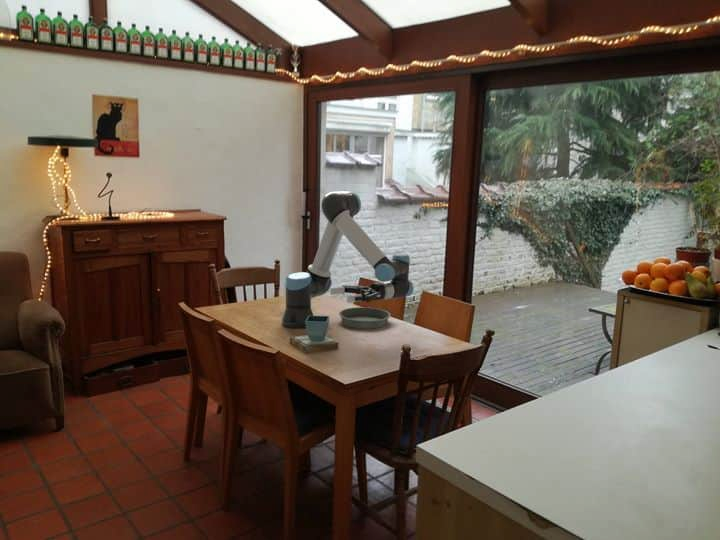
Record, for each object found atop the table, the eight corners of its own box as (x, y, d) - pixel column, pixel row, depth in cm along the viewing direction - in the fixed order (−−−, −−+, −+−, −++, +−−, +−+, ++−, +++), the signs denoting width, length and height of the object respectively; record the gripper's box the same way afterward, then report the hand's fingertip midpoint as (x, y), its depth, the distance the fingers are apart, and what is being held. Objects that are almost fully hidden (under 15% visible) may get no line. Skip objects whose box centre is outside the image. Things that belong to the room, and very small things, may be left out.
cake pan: (345, 331, 266) (345, 321, 266) (333, 317, 290) (333, 308, 289) (397, 328, 273) (397, 319, 272) (381, 314, 296) (381, 306, 295)
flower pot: (304, 342, 239) (304, 321, 237) (308, 336, 248) (308, 315, 246) (326, 343, 238) (326, 321, 237) (329, 336, 247) (329, 316, 245)
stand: (290, 343, 247) (290, 336, 247) (319, 338, 255) (319, 331, 254) (307, 353, 234) (307, 346, 234) (338, 348, 242) (338, 341, 241)
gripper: (397, 306, 248) (354, 311, 237) (365, 292, 268) (324, 296, 257) (398, 288, 246) (355, 293, 235) (366, 276, 267) (324, 280, 255)
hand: (338, 295), depth 246 cm, fingers open, 13 cm apart
